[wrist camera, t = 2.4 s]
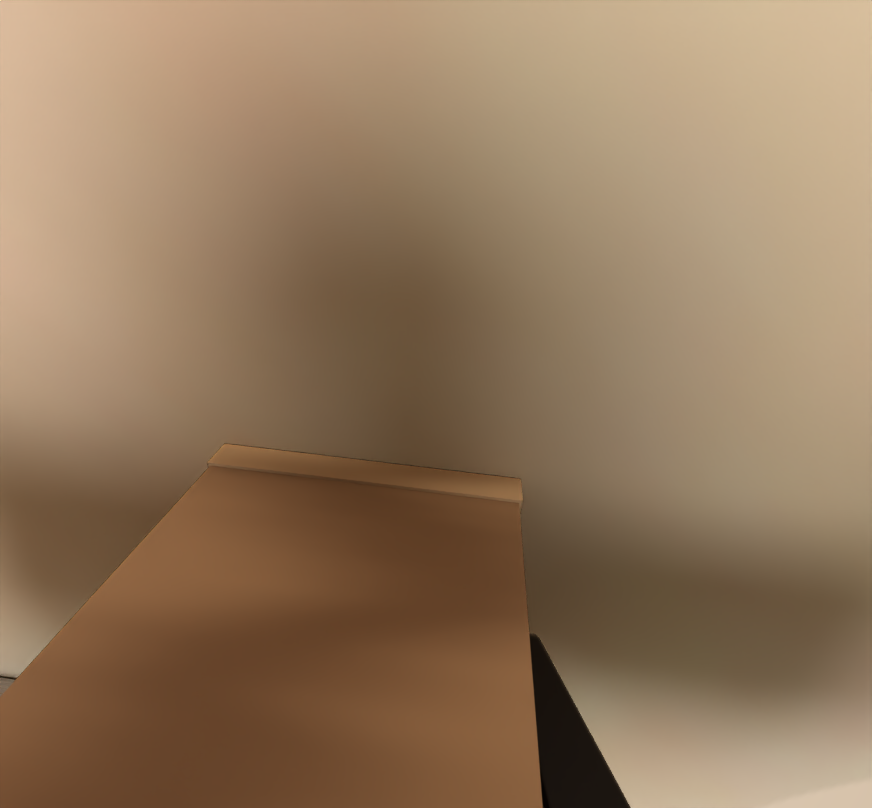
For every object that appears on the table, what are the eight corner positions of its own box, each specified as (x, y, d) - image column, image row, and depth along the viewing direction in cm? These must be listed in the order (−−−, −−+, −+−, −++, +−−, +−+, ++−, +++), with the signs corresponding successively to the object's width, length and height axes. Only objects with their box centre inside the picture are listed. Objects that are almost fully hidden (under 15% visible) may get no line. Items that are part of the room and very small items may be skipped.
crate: (520, 476, 9) (569, 1037, 3) (484, 675, 11) (477, 1199, 5) (225, 442, 9) (-198, 898, 3) (251, 643, 11) (22, 1108, 6)
